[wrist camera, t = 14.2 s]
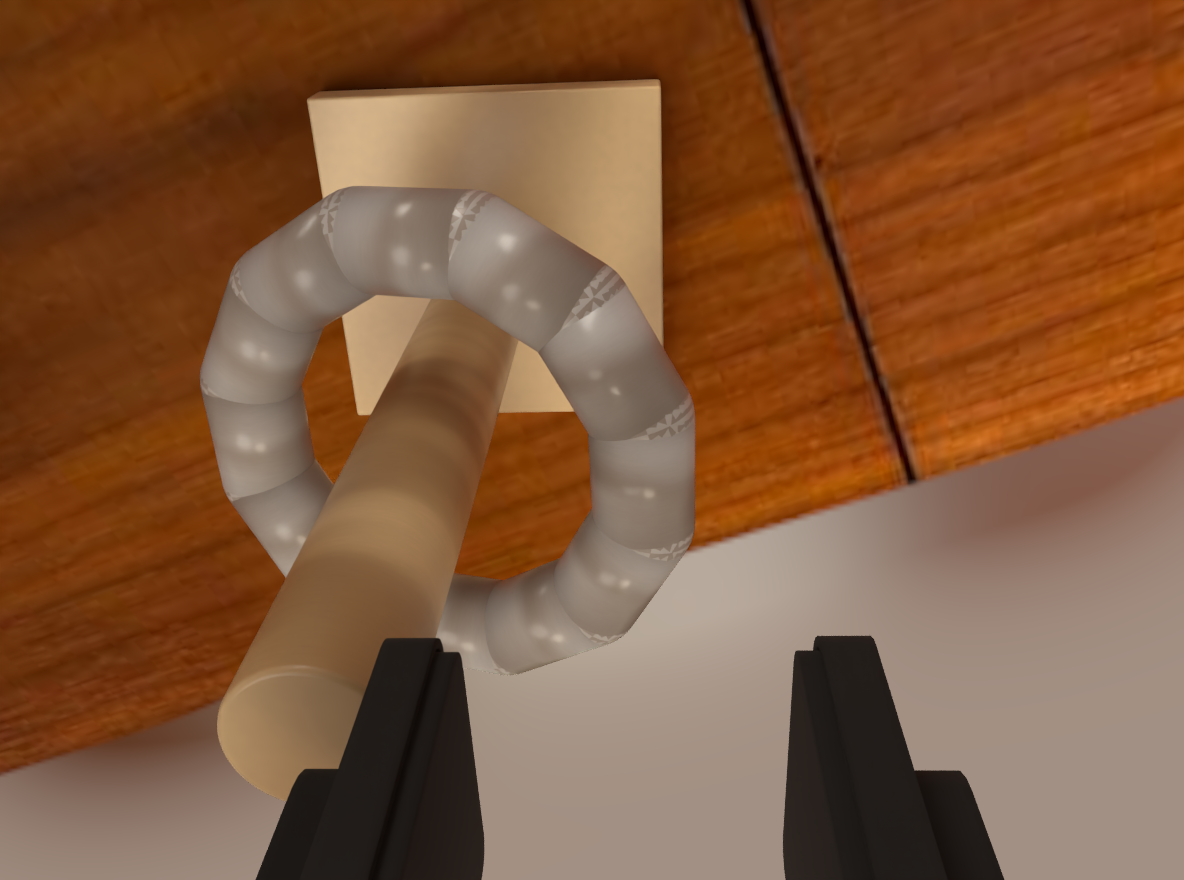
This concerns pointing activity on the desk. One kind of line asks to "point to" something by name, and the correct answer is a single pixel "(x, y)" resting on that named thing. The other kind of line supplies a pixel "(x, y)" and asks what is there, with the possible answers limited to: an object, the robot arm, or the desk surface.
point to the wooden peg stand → (433, 385)
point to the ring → (517, 306)
